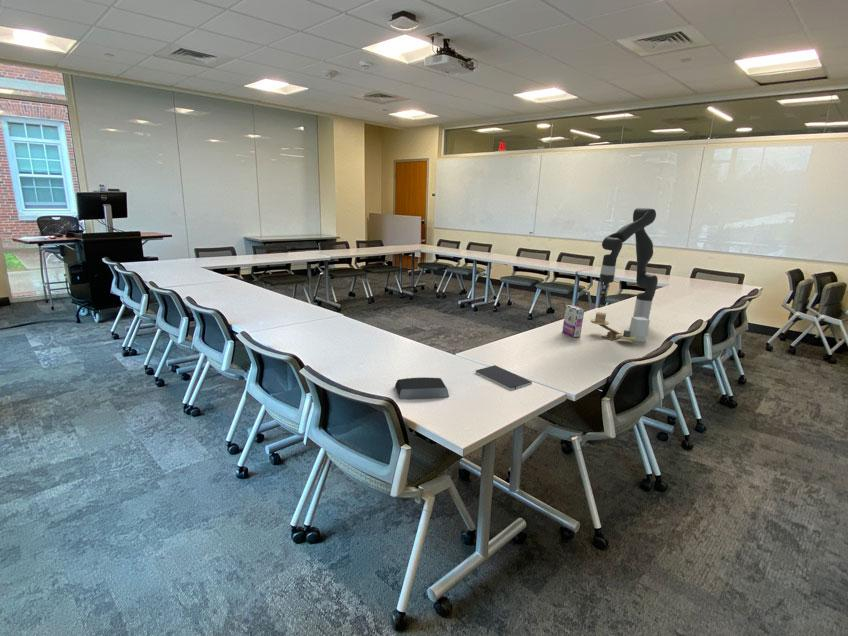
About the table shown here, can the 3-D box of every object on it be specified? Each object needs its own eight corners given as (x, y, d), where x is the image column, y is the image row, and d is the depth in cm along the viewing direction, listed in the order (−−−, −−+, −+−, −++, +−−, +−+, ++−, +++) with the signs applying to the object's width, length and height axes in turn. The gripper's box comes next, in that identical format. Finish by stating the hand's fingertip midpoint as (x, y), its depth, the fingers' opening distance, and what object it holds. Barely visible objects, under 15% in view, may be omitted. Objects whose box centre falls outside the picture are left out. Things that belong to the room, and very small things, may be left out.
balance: (585, 332, 266) (587, 320, 264) (595, 330, 272) (597, 318, 270) (628, 346, 245) (631, 333, 243) (638, 343, 250) (641, 330, 248)
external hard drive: (449, 399, 172) (450, 389, 171) (399, 401, 168) (399, 391, 167) (441, 385, 184) (442, 375, 183) (394, 386, 180) (395, 377, 179)
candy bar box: (580, 337, 256) (585, 309, 252) (573, 337, 254) (577, 309, 250) (569, 331, 266) (573, 304, 262) (561, 331, 265) (565, 304, 260)
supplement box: (646, 342, 254) (650, 320, 251) (633, 341, 254) (637, 319, 251) (640, 337, 261) (644, 317, 258) (627, 337, 261) (631, 316, 258)
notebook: (531, 385, 189) (494, 368, 205) (532, 381, 188) (494, 365, 204) (511, 391, 181) (474, 373, 197) (511, 388, 181) (474, 370, 197)
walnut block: (596, 319, 266) (597, 311, 265) (604, 321, 264) (606, 313, 263) (594, 321, 262) (596, 313, 261) (603, 323, 260) (605, 314, 258)
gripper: (602, 270, 263) (597, 297, 267) (598, 274, 251) (594, 302, 255) (615, 272, 260) (611, 299, 264) (613, 275, 247) (608, 304, 252)
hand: (603, 301), depth 260 cm, fingers open, 8 cm apart
